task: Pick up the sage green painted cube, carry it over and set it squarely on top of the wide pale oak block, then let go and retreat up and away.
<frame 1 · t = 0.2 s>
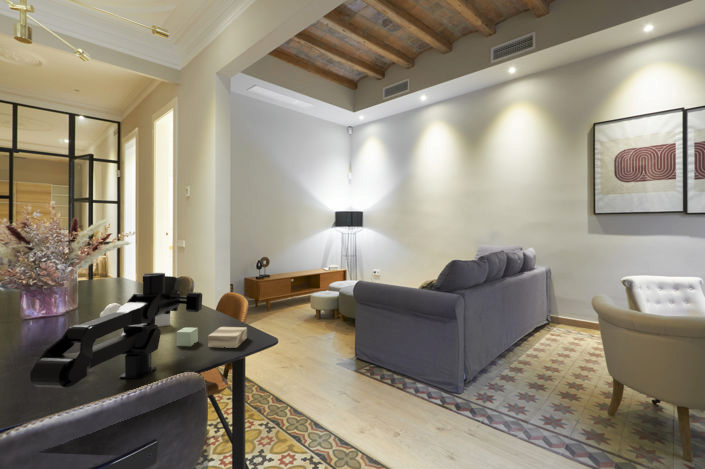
hand: (186, 296, 118), 17 cm above the table, tool horizontal, fingers open, 9 cm apart
oak block: (228, 342, 119), on the table
sage cube: (187, 343, 117), on the table
white animal figurine: (109, 322, 141), on the table
photo printer: (156, 326, 136), on the table
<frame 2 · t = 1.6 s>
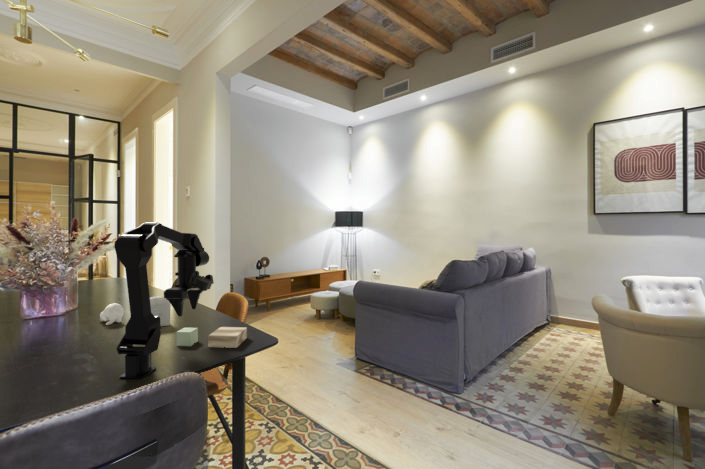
hand: (187, 312, 117), 11 cm above the table, tool pointing down, fingers open, 9 cm apart
nothing on the table moved.
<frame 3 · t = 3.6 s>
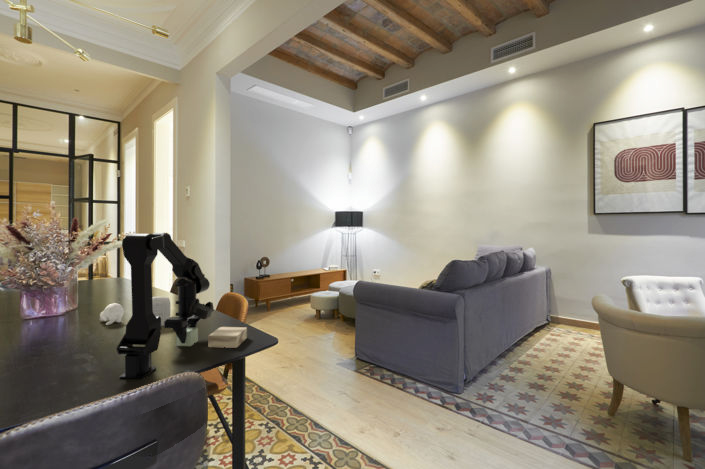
hand: (187, 340, 117), 1 cm above the table, tool pointing down, fingers closed on sage cube, 5 cm apart
sage cube: (187, 343, 117), on the table, touching gripper
everything else where it was.
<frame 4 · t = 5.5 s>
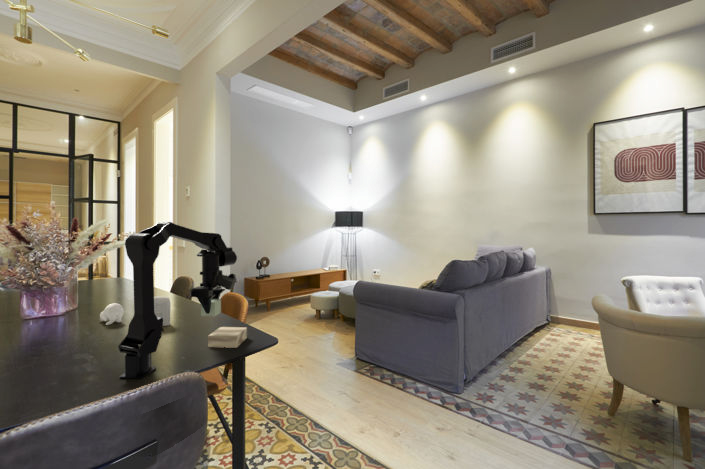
hand: (211, 311, 118), 11 cm above the table, tool pointing down, fingers closed on sage cube, 5 cm apart
sage cube: (211, 314, 118), point 10 cm above the table, touching gripper
everything else where it was.
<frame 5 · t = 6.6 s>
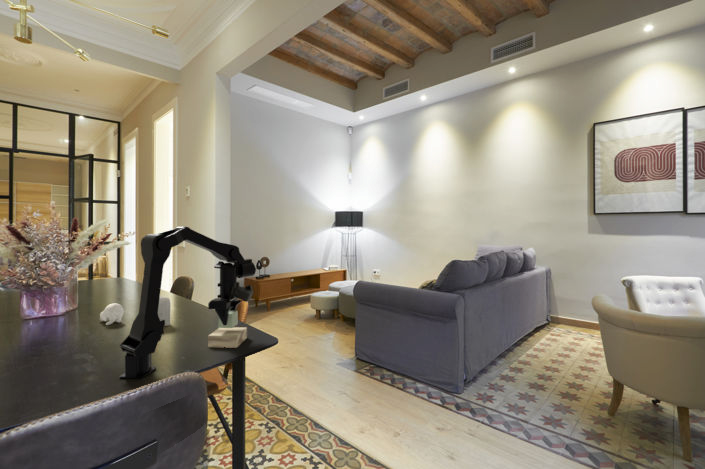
hand: (228, 322, 118), 7 cm above the table, tool pointing down, fingers closed on sage cube, 5 cm apart
sage cube: (228, 325, 118), point 6 cm above the table, touching gripper
everything else where it was.
when the fingers open (6 cm above the table, at t = 7.5 s): sage cube drops 1 cm, resting on oak block.
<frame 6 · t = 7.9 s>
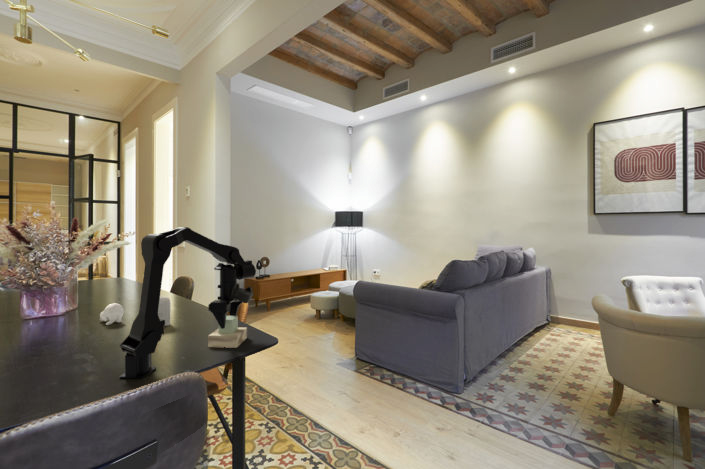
hand: (228, 324, 118), 6 cm above the table, tool pointing down, fingers open, 9 cm apart
sage cube: (228, 331, 119), point 4 cm above the table, touching oak block
everything else where it was.
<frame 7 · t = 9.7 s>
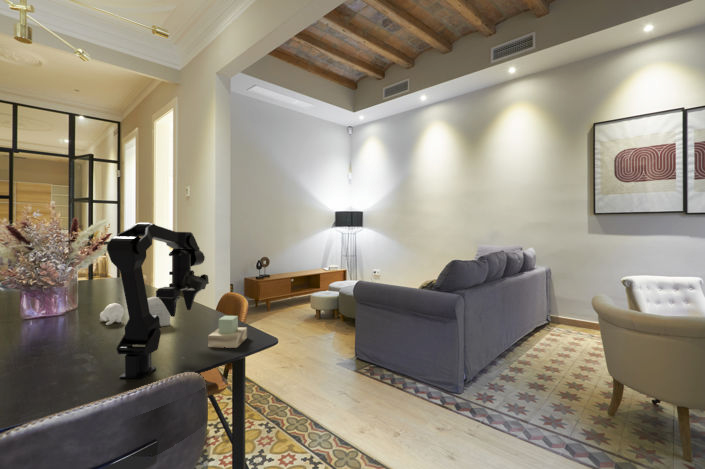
hand: (181, 313, 114), 12 cm above the table, tool pointing down, fingers open, 9 cm apart
nothing on the table moved.
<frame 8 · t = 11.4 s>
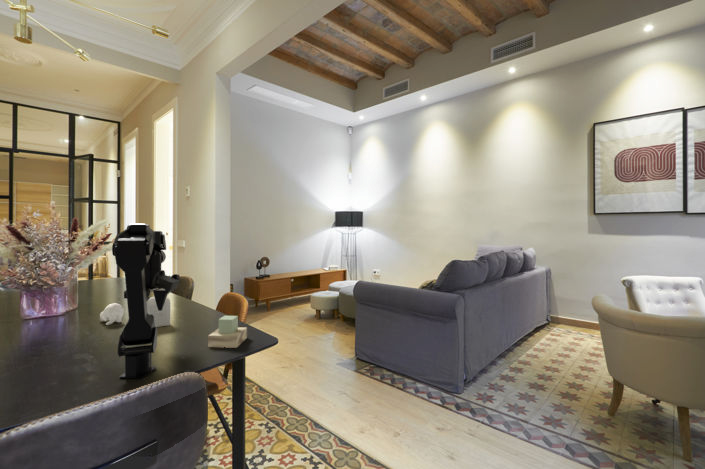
hand: (151, 314, 111), 12 cm above the table, tool pointing down, fingers open, 9 cm apart
nothing on the table moved.
at the end: sage cube 0.0 cm off-centre on the oak block, point 4.0 cm above the oak block's base; sage cube tilted 0°; the gripper is holding nothing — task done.
